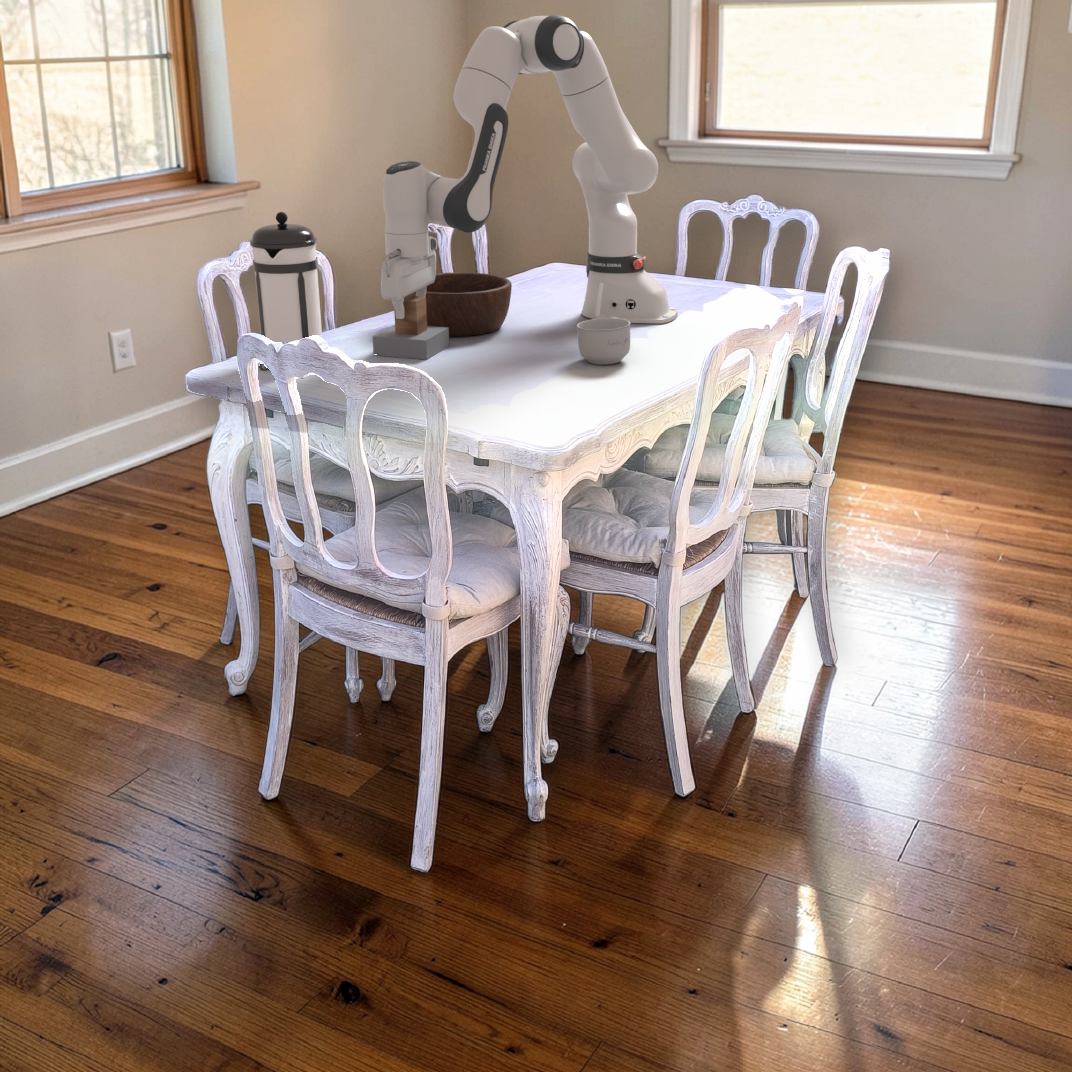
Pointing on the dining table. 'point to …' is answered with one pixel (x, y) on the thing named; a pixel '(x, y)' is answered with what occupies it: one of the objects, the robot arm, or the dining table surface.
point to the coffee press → (286, 281)
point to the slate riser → (411, 343)
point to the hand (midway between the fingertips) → (410, 313)
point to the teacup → (604, 340)
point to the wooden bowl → (467, 302)
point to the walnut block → (412, 316)
